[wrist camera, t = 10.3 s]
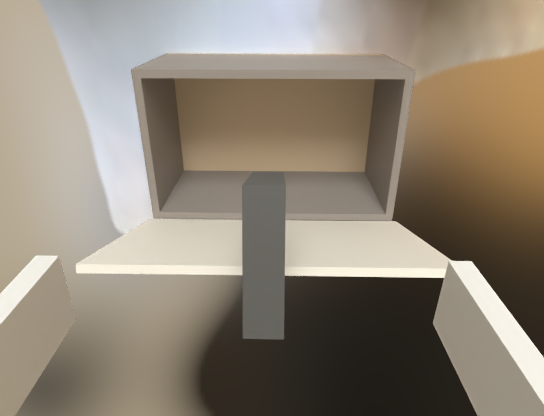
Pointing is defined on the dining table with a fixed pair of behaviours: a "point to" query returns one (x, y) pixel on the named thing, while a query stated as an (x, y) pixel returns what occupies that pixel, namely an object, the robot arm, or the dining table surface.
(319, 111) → the open cabinet
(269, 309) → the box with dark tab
